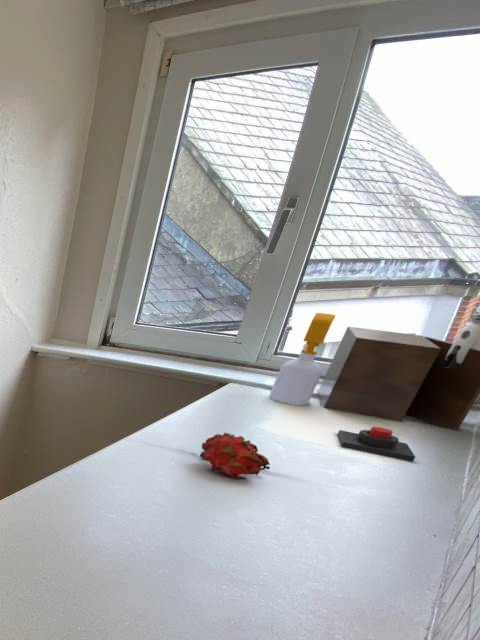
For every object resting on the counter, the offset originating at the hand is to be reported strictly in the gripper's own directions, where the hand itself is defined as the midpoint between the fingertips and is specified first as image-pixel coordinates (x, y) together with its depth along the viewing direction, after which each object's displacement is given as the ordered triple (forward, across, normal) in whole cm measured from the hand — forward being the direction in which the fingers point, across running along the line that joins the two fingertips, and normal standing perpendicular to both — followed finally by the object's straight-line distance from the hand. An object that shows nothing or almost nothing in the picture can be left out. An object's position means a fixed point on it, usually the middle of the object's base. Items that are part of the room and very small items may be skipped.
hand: (452, 391), depth 144 cm
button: (+5, -40, -27) cm, 49 cm away
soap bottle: (+8, -35, +8) cm, 37 cm away
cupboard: (+8, -16, +7) cm, 19 cm away
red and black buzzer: (+8, -40, -27) cm, 49 cm away
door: (+8, -1, 0) cm, 8 cm away
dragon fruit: (+8, -83, -44) cm, 94 cm away
